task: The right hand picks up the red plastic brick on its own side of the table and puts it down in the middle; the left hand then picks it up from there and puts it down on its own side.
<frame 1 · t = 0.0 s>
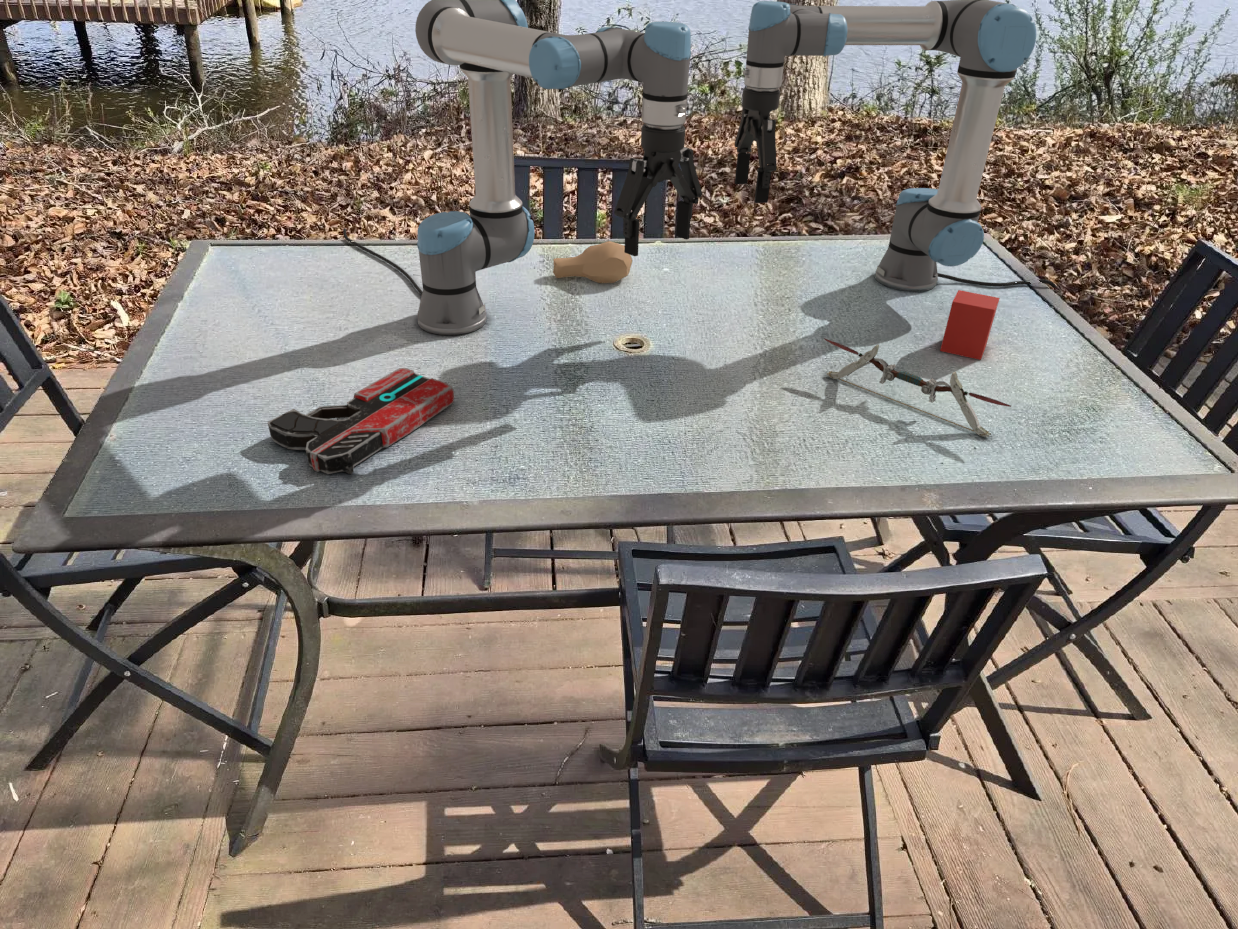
left hand: (657, 245, 161), 28 cm above the table, tool pointing down, fingers open, 13 cm apart
right hand: (750, 192, 189), 28 cm above the table, tool pointing down, fingers open, 13 cm apart
bow: (903, 405, 170), on the table
gun: (366, 426, 159), on the table
brick: (962, 349, 192), on the table
squash: (592, 278, 220), on the table
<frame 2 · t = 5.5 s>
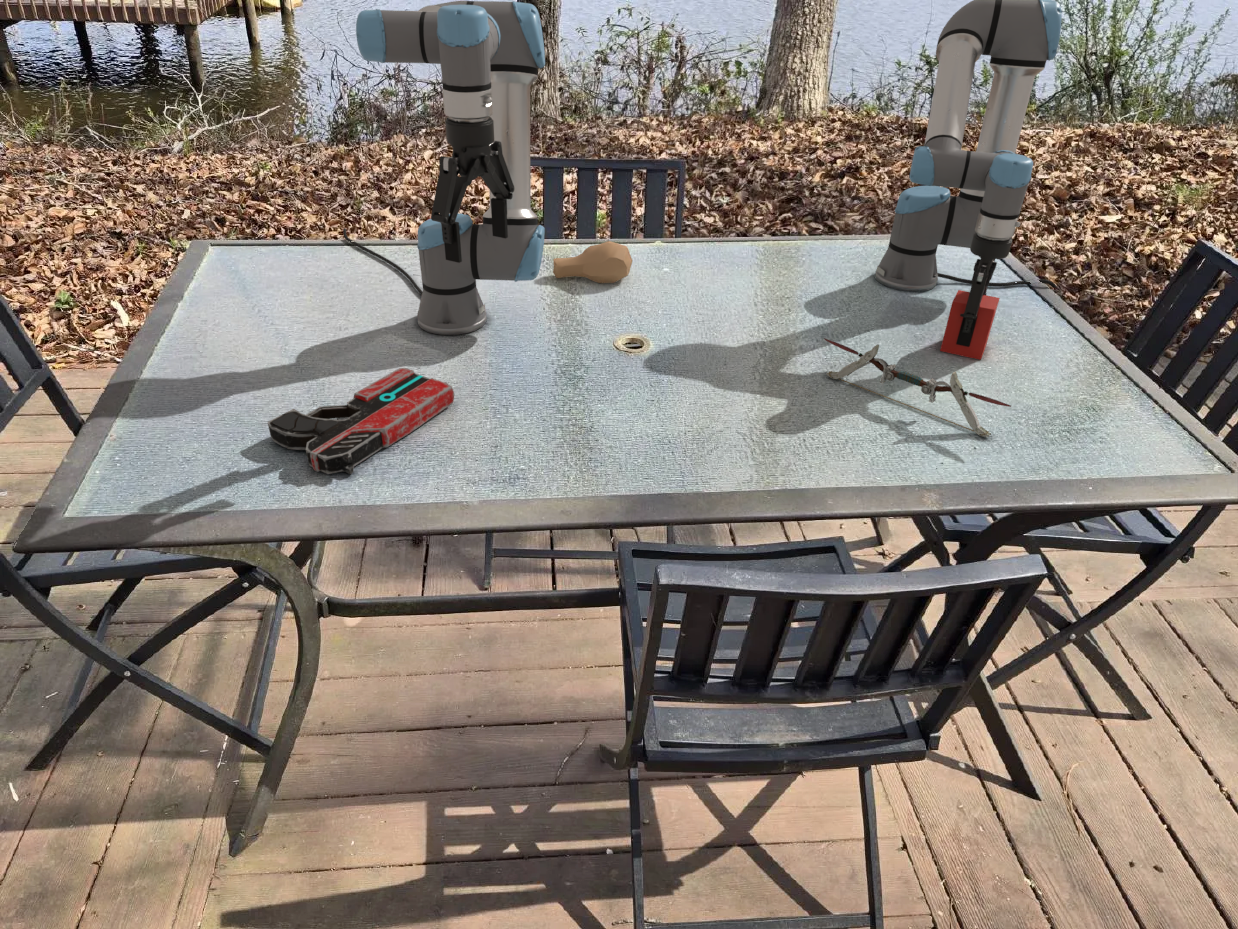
left hand: (477, 248, 149), 31 cm above the table, tool pointing down, fingers open, 13 cm apart
right hand: (966, 337, 190), 3 cm above the table, tool pointing down, fingers closed on brick, 7 cm apart
brick: (962, 349, 192), on the table, touching right hand
everything else where it was.
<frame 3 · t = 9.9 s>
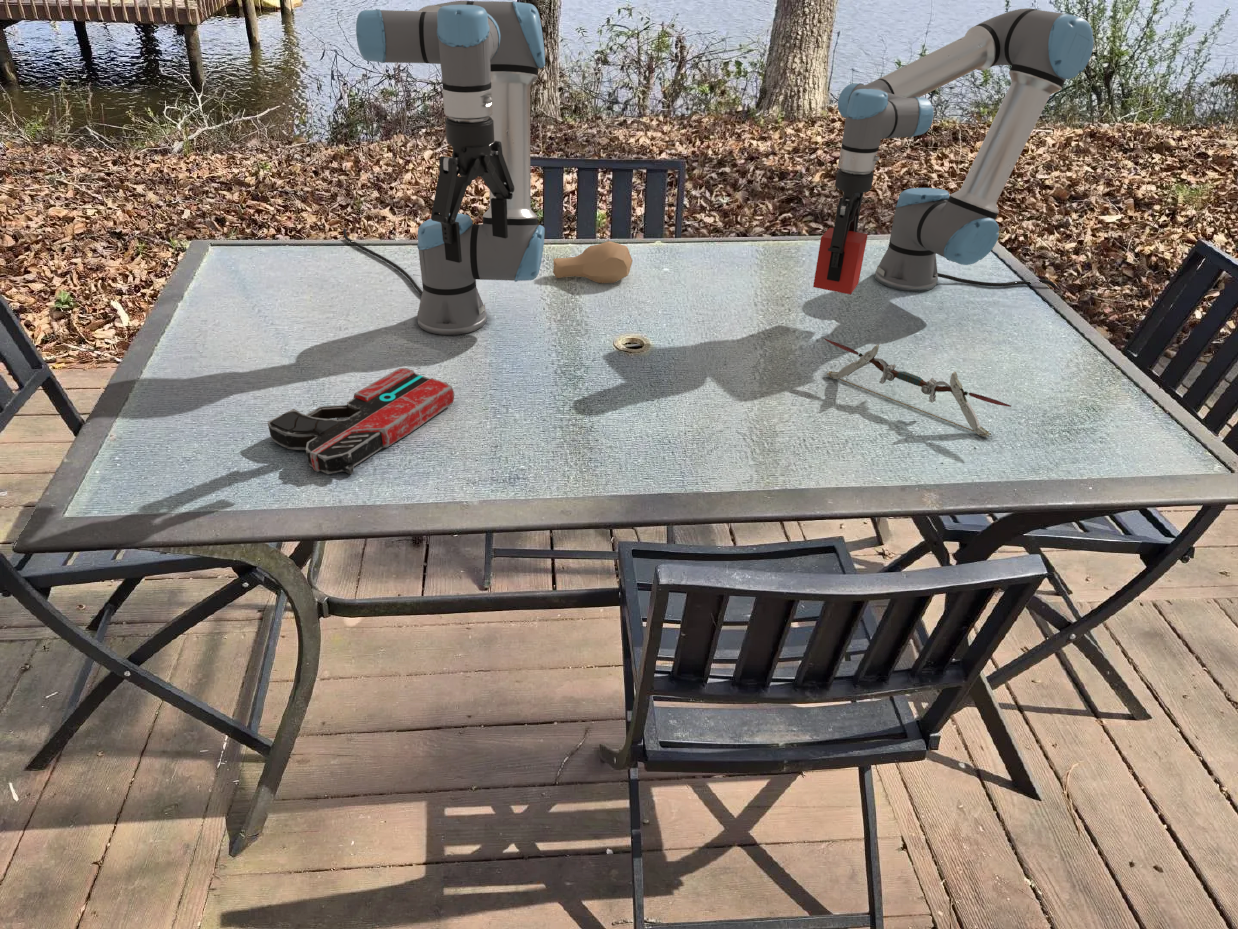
left hand: (477, 248, 149), 31 cm above the table, tool pointing down, fingers open, 13 cm apart
right hand: (837, 273, 196), 12 cm above the table, tool pointing down, fingers closed on brick, 7 cm apart
brick: (835, 285, 197), point 9 cm above the table, touching right hand
everything else where it was.
when the right hand's fingers open (4 cm above the table, at t = 14.5 s): brick drops 2 cm, on the table.
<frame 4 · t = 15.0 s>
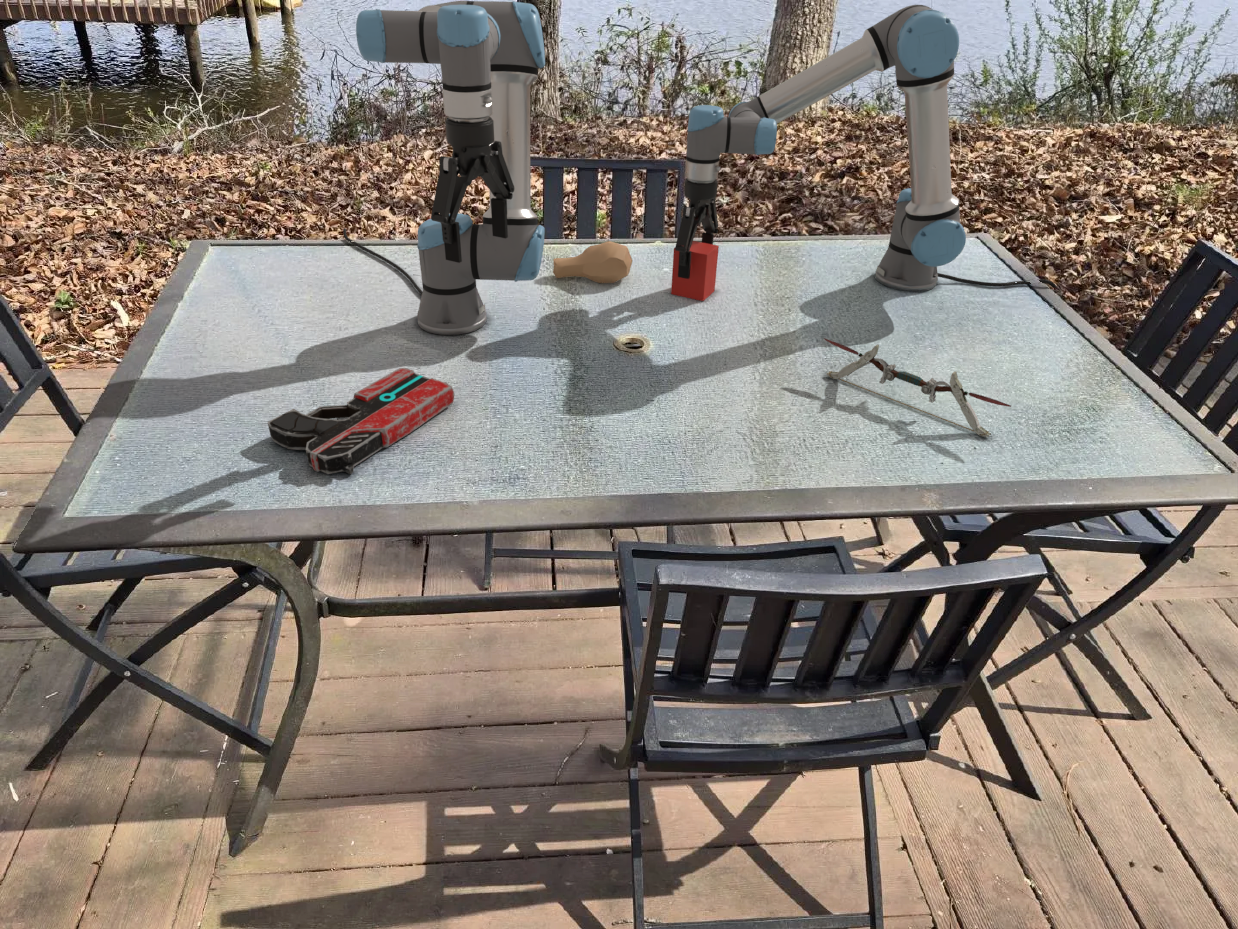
left hand: (477, 248, 149), 31 cm above the table, tool pointing down, fingers open, 13 cm apart
right hand: (695, 268, 211), 6 cm above the table, tool pointing down, fingers open, 13 cm apart
brick: (692, 292, 214), on the table
everything else where it was.
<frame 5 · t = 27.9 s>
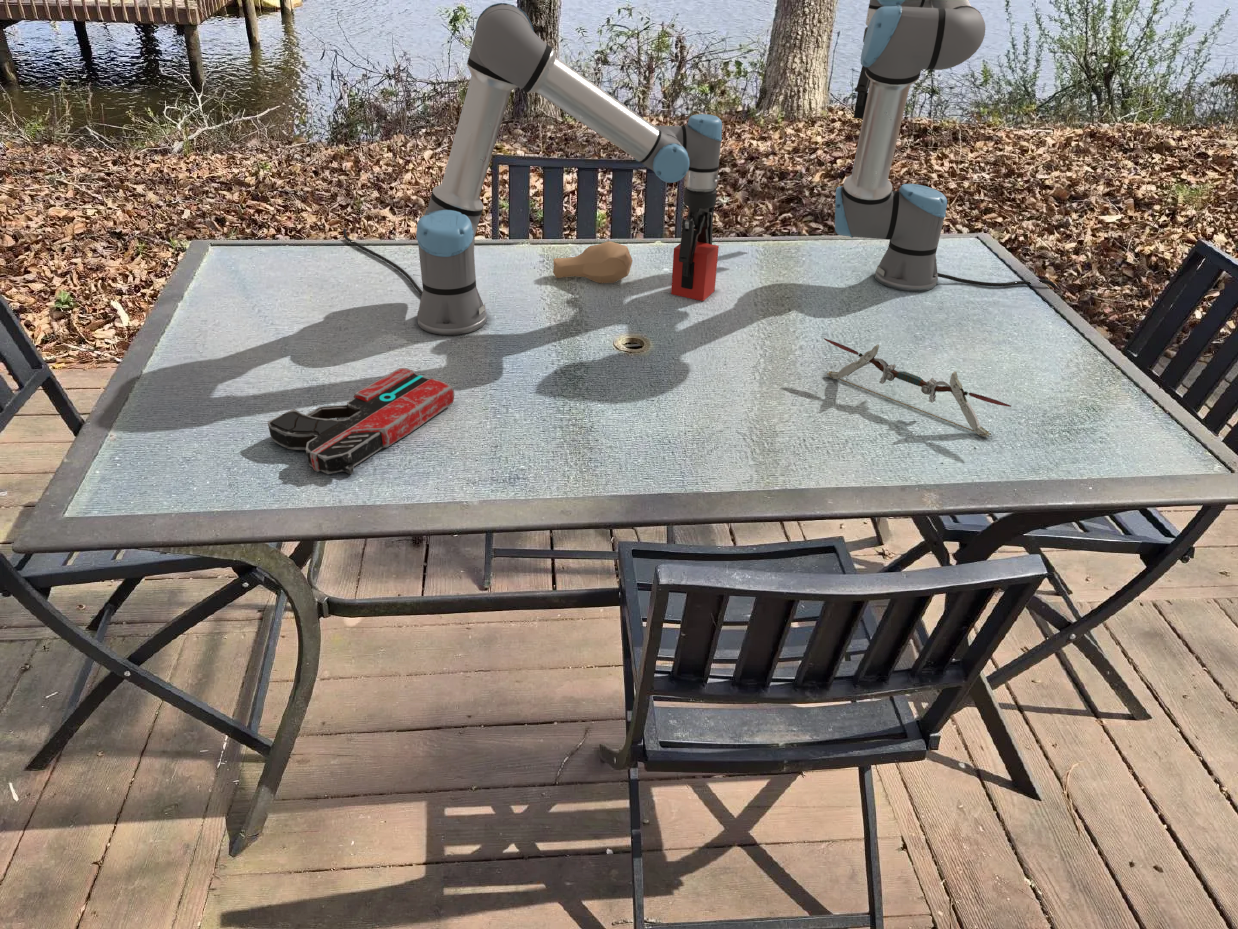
left hand: (693, 282, 213), 3 cm above the table, tool pointing down, fingers closed on brick, 7 cm apart
right hand: (865, 113, 239), 32 cm above the table, tool pointing down, fingers open, 13 cm apart
brick: (692, 292, 214), on the table, touching left hand
everything else where it was.
when the left hand's fingers open (4 cm above the table, at t = 34.6 s): brick drops 2 cm, on the table.
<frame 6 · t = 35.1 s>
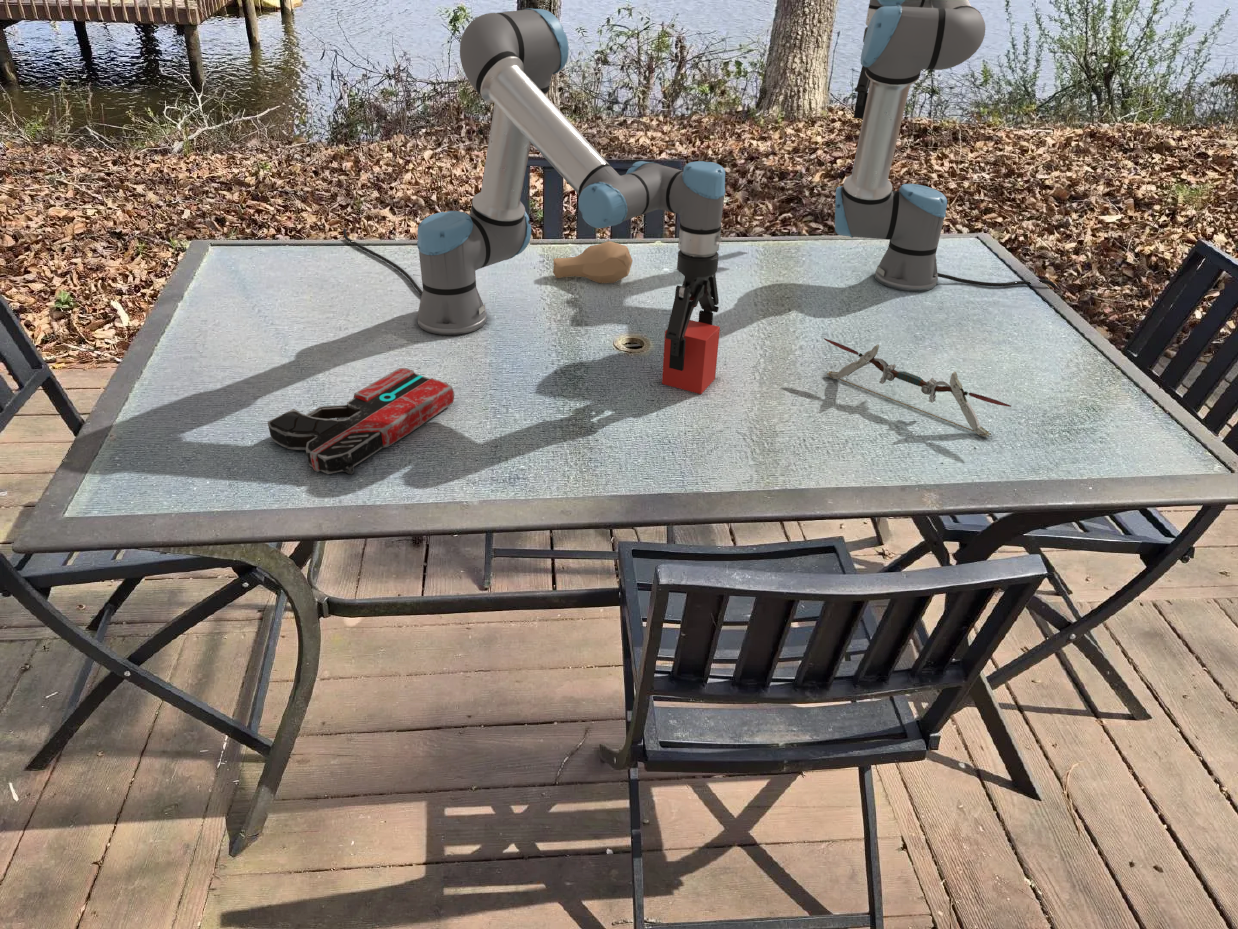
left hand: (690, 355, 173), 6 cm above the table, tool pointing down, fingers open, 13 cm apart
right hand: (865, 113, 239), 32 cm above the table, tool pointing down, fingers open, 13 cm apart
brick: (688, 381, 176), on the table
everything else where it was.
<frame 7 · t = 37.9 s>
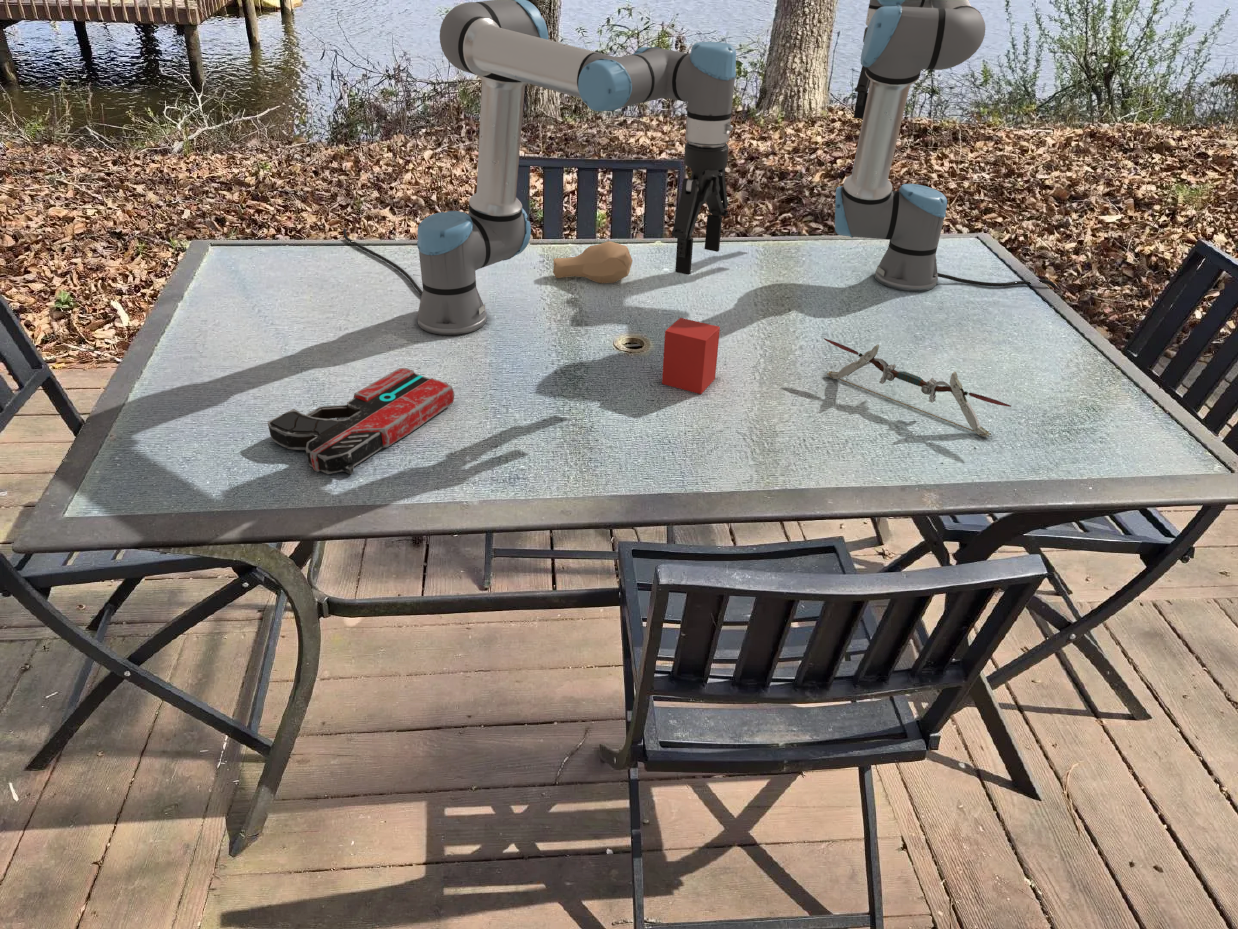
left hand: (697, 261, 162), 25 cm above the table, tool pointing down, fingers open, 13 cm apart
right hand: (865, 113, 239), 32 cm above the table, tool pointing down, fingers open, 13 cm apart
nothing on the table moved.
at the end: brick inside the target area (0.1 cm from its centre), on the table; brick tilted 0°; the two hands never held the brick at the same time; the left hand is holding nothing; the right hand is holding nothing; brick at rest at the end (0.0 cm/s) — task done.
